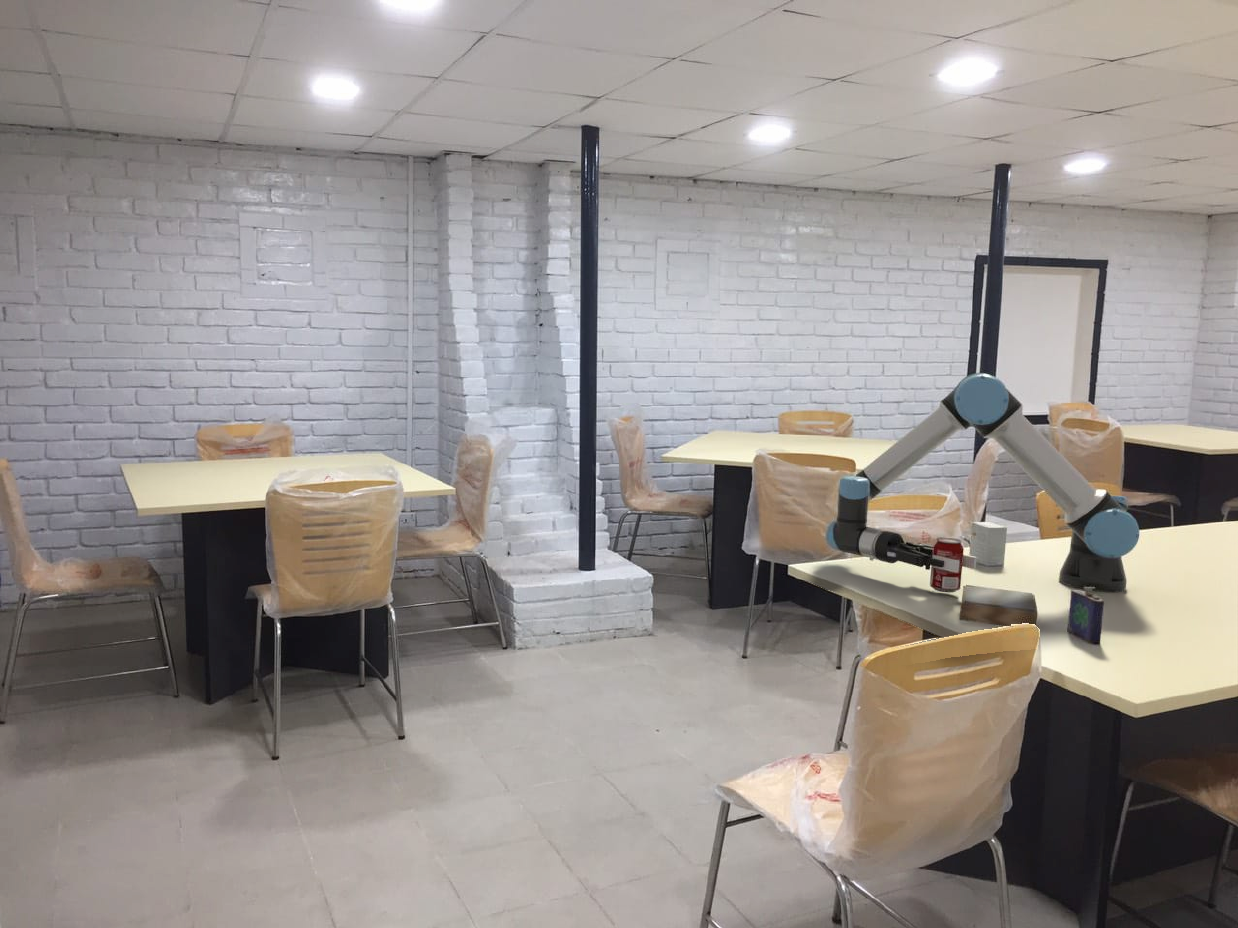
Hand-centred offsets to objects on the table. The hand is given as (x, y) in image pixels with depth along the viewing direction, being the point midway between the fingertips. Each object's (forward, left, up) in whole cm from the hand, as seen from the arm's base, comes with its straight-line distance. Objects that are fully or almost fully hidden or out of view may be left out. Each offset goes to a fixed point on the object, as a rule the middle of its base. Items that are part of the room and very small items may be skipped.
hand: (966, 564), depth 222 cm
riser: (-7, +9, -8) cm, 14 cm away
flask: (-24, +18, -8) cm, 31 cm away
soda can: (+4, -3, -7) cm, 9 cm away
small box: (-5, -45, -8) cm, 46 cm away
